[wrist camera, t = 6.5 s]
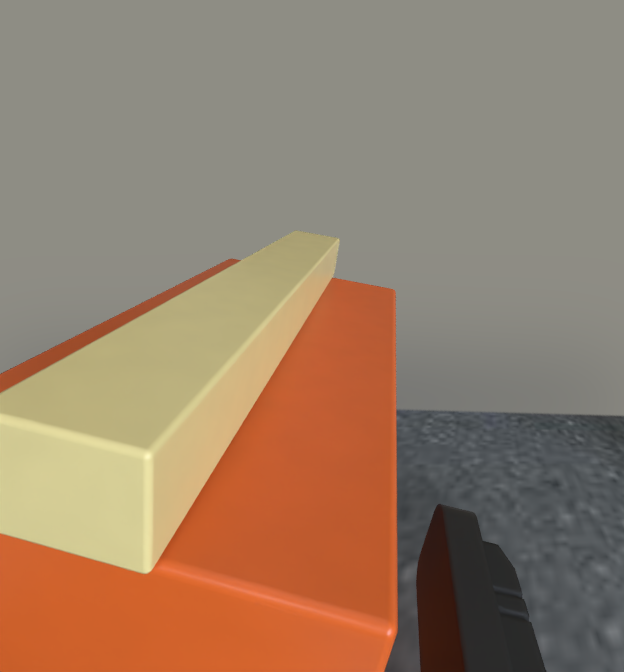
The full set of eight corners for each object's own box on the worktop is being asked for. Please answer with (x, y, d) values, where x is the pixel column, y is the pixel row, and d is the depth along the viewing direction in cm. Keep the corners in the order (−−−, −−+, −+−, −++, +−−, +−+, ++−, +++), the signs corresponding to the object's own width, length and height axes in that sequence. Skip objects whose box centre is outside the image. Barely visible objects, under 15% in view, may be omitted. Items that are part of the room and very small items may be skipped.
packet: (-13, 998, 7) (-264, 351, 3) (207, 553, 16) (233, 219, 11) (243, 1106, 7) (443, 528, 2) (328, 586, 15) (405, 249, 11)
